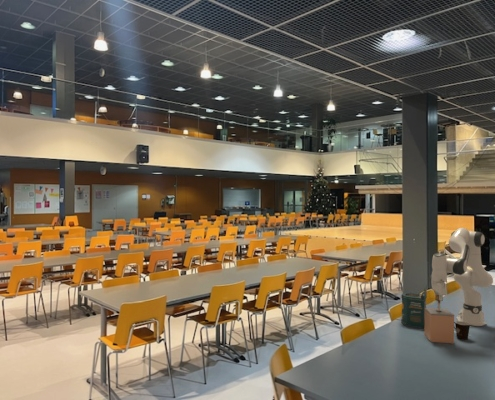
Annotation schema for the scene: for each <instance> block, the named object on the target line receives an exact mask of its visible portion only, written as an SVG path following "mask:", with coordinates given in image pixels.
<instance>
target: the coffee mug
mask: <svg viewBox="0 0 495 400" xmlns="http://www.w3.org/2000/svg"><path fill="white" fill-rule="evenodd" d="M470 326H471V325H470V324H469V323H467V322H462V321H458V320H457V321H454V331H455V333H456V339H458V340H462V341H468V340H469V335H470Z"/></svg>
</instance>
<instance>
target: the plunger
mask: <svg viewBox="0 0 495 400" xmlns="http://www.w3.org/2000/svg"><path fill="white" fill-rule="evenodd" d="M434 298H435V299H434V301H437V309H438V312H440V309H441V302H443V300H444V297H443V298H442V301H440V300H439V295H436V294H435V297H434Z"/></svg>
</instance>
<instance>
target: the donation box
mask: <svg viewBox="0 0 495 400" xmlns="http://www.w3.org/2000/svg"><path fill="white" fill-rule="evenodd" d="M427 290H428V289H427V284H426V285H425V287H424V290H423V292H422V293H417V292H416V293H415V292H402V294H401V296H400V297H401V320H400V323H401V324H403V325H405V326H408V327H415V328H421V329H425V308H427V297H428V296H427V295H428V293H427V292H428V291H427Z"/></svg>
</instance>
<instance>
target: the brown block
mask: <svg viewBox="0 0 495 400" xmlns="http://www.w3.org/2000/svg"><path fill="white" fill-rule="evenodd" d="M454 322H455V314H454V313H452V312H451V311H450V310H449V309H448V308H440V312H438V308H435V307H434V308H432V307H431V308H430V307H426V308H425V328H423V329H424V332H423V334H424V336H425V337H426V338H427V340H428V341H429V342H431V343H432V342H434V343H442V344H445V343H446V344H454V343H455V328H454V327H455V323H454Z"/></svg>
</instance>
